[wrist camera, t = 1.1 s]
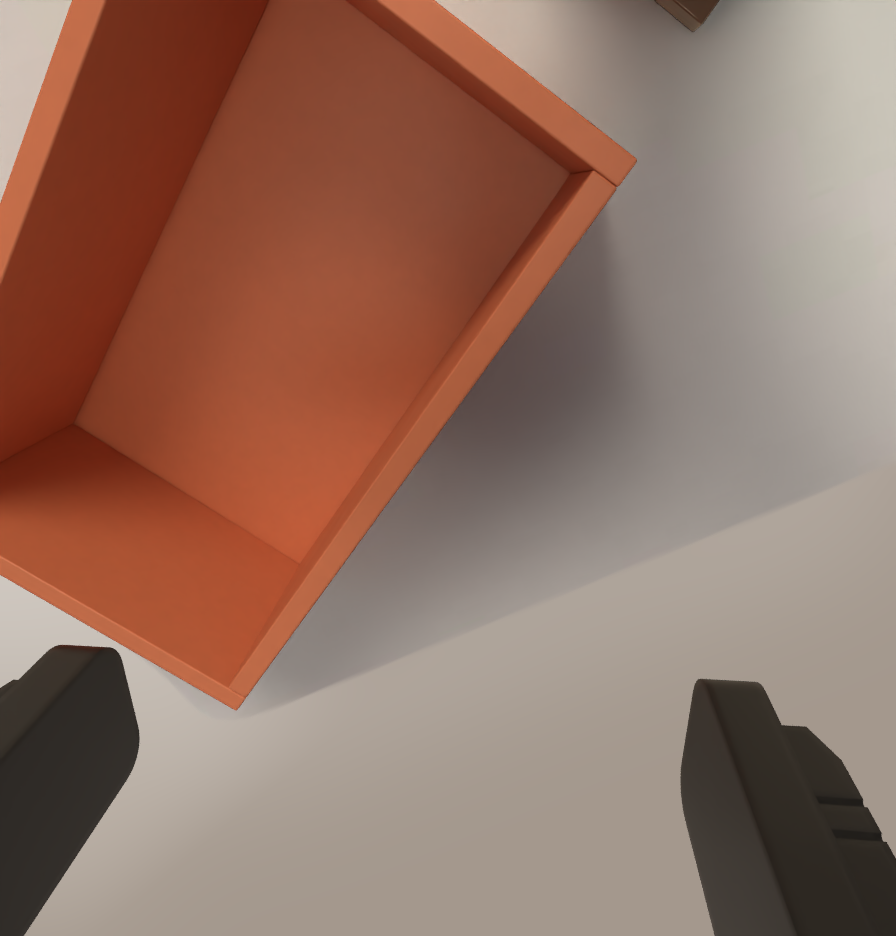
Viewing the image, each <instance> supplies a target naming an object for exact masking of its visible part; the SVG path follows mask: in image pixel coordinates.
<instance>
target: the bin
mask: <svg viewBox="0 0 896 936" xmlns="http://www.w3.org/2000/svg"><path fill="white" fill-rule="evenodd" d="M636 162H637V159H636V158H635V157H634V156H632V155H631V154H630V153H629V152H627V151H626V150H625V149H623V148H622V147H621V146H620V145H618V144H617V143H616V142H615V141H613V140H612V139H611V138H609V137H608V136H607V135H606V134H604V133H603V132H602V131H600V130H599V129H598V128H597V127H595V126H594V125H593V124H592V123H590V122H589V121H588V120H586V119H585V118H584V117H583V116H581V115H580V114H579V113H577V112H576V111H575V110H574V109H572V108H571V107H570V106H569V105H567V104H566V103H565V102H563V101H562V100H561V99H560V98H558V97H557V96H556V95H555V94H553V93H552V92H551V91H549V90H548V89H547V88H546V87H544V86H543V85H542V84H540V83H539V82H538V81H537V80H535V79H534V78H533V77H532V76H530V75H529V74H528V73H526V72H525V71H524V70H523V69H521V68H520V67H519V66H517V65H516V64H515V63H514V62H512V61H511V60H510V59H509V58H507V57H506V56H505V55H503V54H502V53H501V52H500V51H498V50H497V49H496V48H495V47H493V46H492V45H491V44H489V43H488V42H487V41H486V40H484V39H483V38H482V37H480V36H479V35H478V34H477V33H475V32H474V31H473V30H472V29H470V28H469V27H468V26H466V25H465V24H464V23H463V22H461V21H460V20H459V19H457V18H456V17H455V16H454V15H452V14H451V13H450V12H449V11H447V10H446V9H445V8H443V7H442V6H441V5H440V4H438V3H437V2H436V1H435V0H72V2H71V5H70V8H69V11H68V13H67V16H66V19H65V22H64V25H63V28H62V30H61V33H60V36H59V39H58V42H57V45H56V47H55V50H54V53H53V56H52V59H51V62H50V64H49V67H48V70H47V73H46V76H45V79H44V81H43V84H42V87H41V90H40V93H39V95H38V98H37V101H36V104H35V107H34V110H33V112H32V115H31V118H30V121H29V124H28V127H27V129H26V132H25V135H24V138H23V141H22V144H21V146H20V149H19V152H18V155H17V158H16V161H15V163H14V166H13V169H12V172H11V175H10V177H9V180H8V183H7V186H6V189H5V192H4V194H3V197H2V200H1V203H0V575H1V576H3V577H5V578H7V579H8V580H10V581H12V582H14V583H15V584H17V585H19V586H21V587H22V588H24V589H26V590H27V591H29V592H31V593H33V594H34V595H36V596H38V597H40V598H41V599H43V600H45V601H46V602H48V603H50V604H52V605H53V606H55V607H57V608H59V609H61V610H62V611H64V612H66V613H68V614H69V615H71V616H73V617H74V618H76V619H78V620H79V621H81V622H83V623H85V624H86V625H88V626H90V627H92V628H94V629H95V630H97V631H99V632H100V633H102V634H104V635H106V636H108V637H109V638H111V639H112V640H114V641H116V642H118V643H119V644H121V645H123V646H125V647H126V648H128V649H130V650H132V651H133V652H135V653H137V654H138V655H140V656H142V657H144V658H145V659H147V660H149V661H151V662H152V663H154V664H156V665H158V666H159V667H161V668H163V669H165V670H166V671H168V672H170V673H171V674H173V675H175V676H177V677H178V678H180V679H182V680H184V681H185V682H187V683H189V684H191V685H192V686H194V687H196V688H198V689H199V690H201V691H203V692H204V693H206V694H208V695H210V696H211V697H213V698H215V699H217V700H218V701H220V702H222V703H224V704H225V705H227V706H229V707H231V708H232V709H234V710H237V709H238V708H239V707H240V705H241V704H242V703H243V701H244V700H245V699H246V697H247V696H248V694H249V693H250V692H251V690H252V689H253V688H254V686H255V685H256V683H257V682H258V681H259V679H260V678H261V677H262V675H263V674H264V672H265V671H266V670H267V668H268V667H269V666H270V664H271V663H272V661H273V660H274V659H275V657H276V656H277V655H278V653H279V652H280V651H281V649H282V648H283V646H284V645H285V644H286V642H287V641H288V640H289V638H290V637H291V635H292V634H293V633H294V631H295V630H296V629H297V627H298V626H299V624H300V623H301V622H302V620H303V619H304V618H305V616H306V615H307V613H308V612H309V611H310V609H311V608H312V607H313V605H314V604H315V603H316V601H317V600H318V598H319V597H320V596H321V594H322V593H323V592H324V590H325V589H326V587H327V586H328V585H329V583H330V582H331V581H332V579H333V578H334V576H335V575H336V574H337V572H338V571H339V570H340V568H341V567H342V565H343V564H344V563H345V561H346V560H347V559H348V557H349V556H350V554H351V553H352V552H353V550H354V549H355V548H356V546H357V545H358V544H359V542H360V541H361V539H362V538H363V537H364V535H365V534H366V533H367V531H368V530H369V528H370V527H371V526H372V524H373V523H374V522H375V520H376V519H377V517H378V516H379V515H380V513H381V512H382V511H383V509H384V508H385V506H386V505H387V504H388V502H389V501H390V500H391V498H392V497H393V496H394V494H395V493H396V491H397V490H398V489H399V487H400V486H401V485H402V483H403V482H404V480H405V479H406V478H407V476H408V475H409V474H410V472H411V471H412V469H413V468H414V467H415V465H416V464H417V463H418V461H419V460H420V458H421V457H422V456H423V454H424V453H425V452H426V450H427V449H428V447H429V446H430V445H431V443H432V442H433V441H434V439H435V438H436V437H437V435H438V434H439V432H440V431H441V430H442V428H443V427H444V426H445V424H446V423H447V421H448V420H449V419H450V417H451V416H452V415H453V413H454V412H455V410H456V409H457V408H458V406H459V405H460V404H461V402H462V401H463V399H464V398H465V397H466V395H467V394H468V393H469V391H470V390H471V389H472V387H473V386H474V384H475V383H476V382H477V380H478V379H479V378H480V376H481V375H482V373H483V372H484V371H485V369H486V368H487V367H488V365H489V364H490V362H491V361H492V360H493V358H494V357H495V356H496V354H497V353H498V351H499V350H500V349H501V347H502V346H503V345H504V343H505V342H506V341H507V339H508V338H509V336H510V335H511V334H512V332H513V331H514V330H515V328H516V327H517V325H518V324H519V323H520V321H521V320H522V319H523V317H524V316H525V314H526V313H527V312H528V310H529V309H530V308H531V306H532V305H533V303H534V302H535V301H536V299H537V298H538V297H539V295H540V294H541V292H542V291H543V290H544V288H545V287H546V286H547V284H548V283H549V282H550V280H551V279H552V277H553V276H554V275H555V273H556V272H557V271H558V269H559V268H560V266H561V265H562V264H563V262H564V261H565V260H566V258H567V257H568V255H569V254H570V253H571V251H572V250H573V249H574V247H575V246H576V244H577V243H578V242H579V240H580V239H581V238H582V236H583V235H584V234H585V232H586V231H587V229H588V228H589V227H590V225H591V224H592V223H593V221H594V220H595V218H596V217H597V216H598V214H599V213H600V212H601V210H602V209H603V207H604V206H605V205H606V203H607V202H608V201H609V199H610V198H611V196H612V195H613V194H614V192H615V191H616V187H618V186H620V184H621V183H622V181H623V180H624V179H625V177H626V176H627V175H628V173H629V172H630V170H631V169H632V168H633V166H634V165H635V164H636Z"/></svg>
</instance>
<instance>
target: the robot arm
mask: <svg viewBox="0 0 896 936" xmlns="http://www.w3.org/2000/svg"><path fill="white" fill-rule="evenodd" d="M138 748H139V729H138V724H137V720H136V716H135V712H134V708H133V704H132V699H131V696H130V691H129V687H128V683H127V679H126V675H125V671H124V667H123V663H122V659H121V657H120V655H119V653H118V652H117V651H116V650H115V649H113V648H110V647H92V646H73V645H58V646H55V647H53V648H52V649H50V650H49V651H48V652H46V654H44V655H43V656H42V657H41V658H40V659H39V660H38V661H37V662H36V663H35V664H34V665H33V666H32V667H31V668H30V669H29V670H28V671H27V672H26V673H25V674H24V675H23V676H22V677H21V678H20V679H19V680H12V681H11V682H9V683H8V684H6V685H4V686H3V687H1V688H0V936H24V934H25V933H26V932H27V930H28V929H29V927H30V925H31V924H32V922H33V921H34V919H35V918H36V916H37V915H38V913H39V912H40V910H41V909H42V907H43V906H44V904H45V903H46V901H47V900H48V898H49V897H50V895H51V894H52V892H53V891H54V889H55V888H56V886H57V884H58V883H59V882H60V880H61V879H62V877H63V876H64V874H65V872H66V871H67V870H68V868H69V866H70V865H71V863H72V862H73V860H74V859H75V857H76V856H77V854H78V853H79V851H80V850H81V848H82V847H83V845H84V844H85V842H86V841H87V839H88V838H89V836H90V835H91V833H92V832H93V830H94V828H95V827H96V825H97V824H98V823H99V821H100V820H101V818H102V817H103V815H104V813H105V812H106V810H107V809H108V807H109V806H110V804H111V803H112V801H113V800H114V798H115V797H116V795H117V794H118V792H119V791H120V789H121V788H122V786H123V785H124V783H125V782H126V780H127V778H128V777H129V775H130V773H131V771H132V769H133V767H134V764H135V761H136V758H137V754H138ZM681 797H682V804H683V811H684V816H685V821H686V824H687V828H688V832H689V836H690V840H691V844H692V848H693V852H694V856H695V860H696V864H697V868H698V872H699V876H700V880H701V883H702V887H703V891H704V895H705V899H706V903H707V907H708V911H709V915H710V919H711V923H712V927H713V930H714V935H715V936H896V858H895V856H894V855H893V853H892V851H891V849H890V847H889V846H888V844H887V842H883V840H882V837H881V831H880V830H879V827H878V826H877V824H876V822H875V820H874V818H873V817H872V815H871V813H870V811H869V809H868V808H867V807H864V805H863V798H862V797H861V795H860V793H859V791H858V789H857V787H856V786H855V784H854V782H853V780H852V778H851V777H850V775H849V773H848V771H847V770H846V768H845V766H844V764H843V762H842V760H841V759H839V757H837V756H836V755H835V754H834V753H833V752H832V751H831V750H830V749H829V748H828V747H827V746H826V745H825V744H824V743H823V742H822V741H821V740H820V739H819V738H817V737H816V736H815V735H814V734H813V733H812V732H811V731H810V730H809V729H808V728H807V727H800V726H785V725H781V723H780V721H779V719H778V717H777V714H776V712H775V710H774V708H773V706H772V704H771V702H770V700H769V698H768V696H767V694H766V691H765V690H764V688H763V687H762V685H761V684H759V683H758V682H747V681H729V680H711V679H698V680H697V681H696V683H695V686H694V690H693V696H692V702H691V708H690V714H689V720H688V727H687V733H686V739H685V746H684V752H683V758H682V765H681Z"/></svg>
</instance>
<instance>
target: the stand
mask: <svg viewBox="0 0 896 936" xmlns="http://www.w3.org/2000/svg"><path fill="white" fill-rule="evenodd" d="M655 1H656V2H657V3H658V4H660V5H661V6H662V7H663V8H664V9H666V10H667V11H668V12H669V13H670V14H672V15H673V16H674V17H675V18H676V19H678V20H679V21H680V22H681V23H682V24H684V25H685V26H686V27H687V28H688V29H690V30H691V31H692V32H694V31H695V30H696V29H697V28H699V27H700V26H701V25H702V24H703V23H704V22H705V20H706V19H707V17H708V16H709V15H710V13H711V12H712V10H713V9H714V7H715V6H716V5H717V3H718V2H719V0H655Z"/></svg>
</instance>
